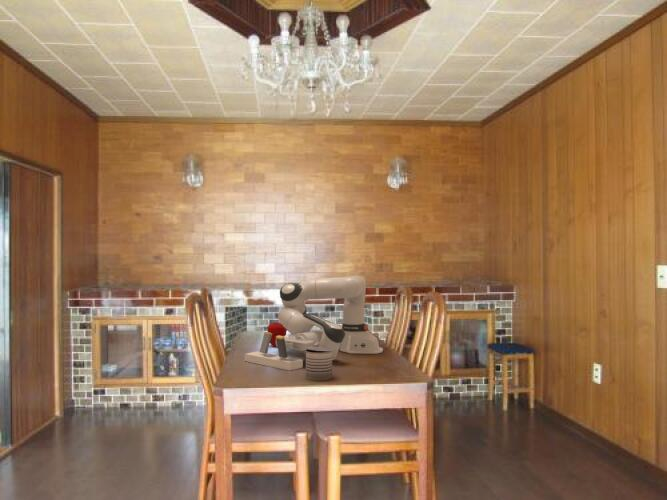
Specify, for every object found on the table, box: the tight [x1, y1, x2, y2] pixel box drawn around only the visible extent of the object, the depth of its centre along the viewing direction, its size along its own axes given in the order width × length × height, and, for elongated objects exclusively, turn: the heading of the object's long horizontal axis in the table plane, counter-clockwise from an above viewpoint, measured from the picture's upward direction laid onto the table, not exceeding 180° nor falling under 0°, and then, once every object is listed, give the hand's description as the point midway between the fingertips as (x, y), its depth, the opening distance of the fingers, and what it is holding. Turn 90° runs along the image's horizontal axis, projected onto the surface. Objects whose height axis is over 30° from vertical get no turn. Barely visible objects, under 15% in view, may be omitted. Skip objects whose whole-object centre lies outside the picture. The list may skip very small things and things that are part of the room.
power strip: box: [244, 350, 304, 372], centre depth 241 cm, size 8×30×4 cm, turn 50°
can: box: [305, 347, 333, 381], centre depth 218 cm, size 11×11×12 cm
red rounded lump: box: [266, 322, 287, 347], centre depth 288 cm, size 10×10×14 cm
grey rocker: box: [258, 331, 272, 354], centre depth 247 cm, size 2×4×10 cm, turn 50°
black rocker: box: [276, 335, 288, 358], centre depth 236 cm, size 2×4×10 cm, turn 50°
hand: (282, 345), depth 237 cm, fingers closed, pressing on black rocker
